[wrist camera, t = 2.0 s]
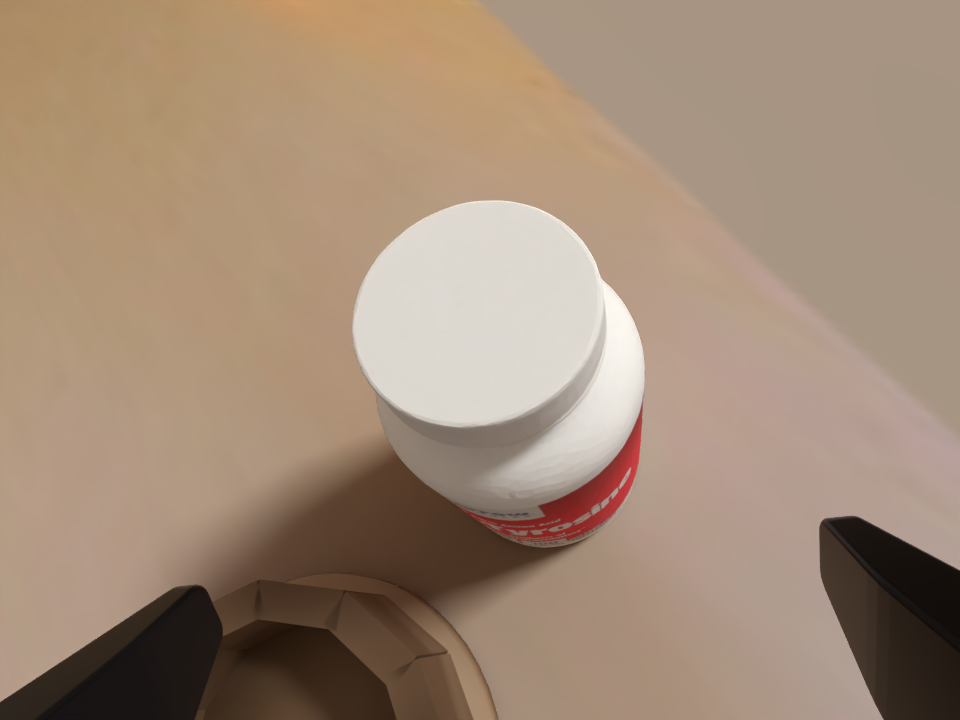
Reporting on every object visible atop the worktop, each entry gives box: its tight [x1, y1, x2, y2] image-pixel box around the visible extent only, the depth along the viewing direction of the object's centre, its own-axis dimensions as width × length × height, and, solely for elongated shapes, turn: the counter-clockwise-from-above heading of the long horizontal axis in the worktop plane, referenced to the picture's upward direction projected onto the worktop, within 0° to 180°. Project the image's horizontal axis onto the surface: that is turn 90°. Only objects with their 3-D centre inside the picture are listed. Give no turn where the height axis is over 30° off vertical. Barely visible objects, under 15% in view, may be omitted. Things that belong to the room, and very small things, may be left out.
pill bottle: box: [352, 200, 645, 548], centre depth 16 cm, size 6×6×11 cm
